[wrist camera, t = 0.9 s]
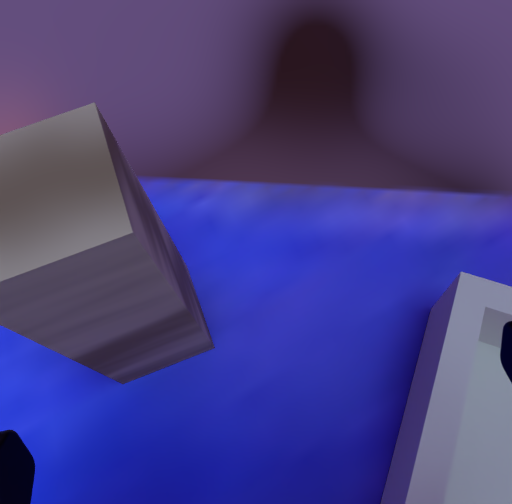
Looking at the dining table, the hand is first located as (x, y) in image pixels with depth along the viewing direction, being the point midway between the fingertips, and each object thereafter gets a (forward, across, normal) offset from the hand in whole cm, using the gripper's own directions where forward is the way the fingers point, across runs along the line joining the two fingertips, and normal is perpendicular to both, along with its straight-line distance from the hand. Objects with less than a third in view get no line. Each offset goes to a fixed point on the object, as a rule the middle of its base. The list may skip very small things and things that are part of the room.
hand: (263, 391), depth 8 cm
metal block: (+14, +6, +8) cm, 18 cm away
